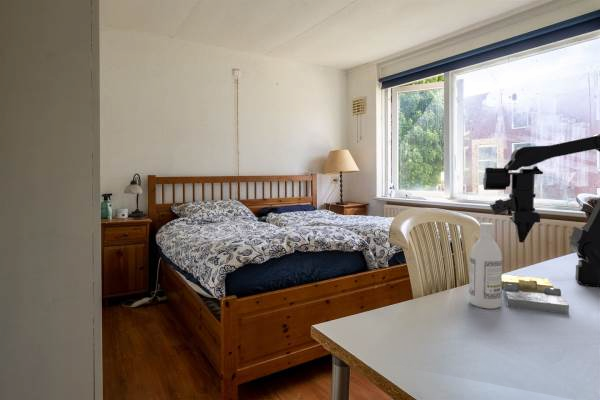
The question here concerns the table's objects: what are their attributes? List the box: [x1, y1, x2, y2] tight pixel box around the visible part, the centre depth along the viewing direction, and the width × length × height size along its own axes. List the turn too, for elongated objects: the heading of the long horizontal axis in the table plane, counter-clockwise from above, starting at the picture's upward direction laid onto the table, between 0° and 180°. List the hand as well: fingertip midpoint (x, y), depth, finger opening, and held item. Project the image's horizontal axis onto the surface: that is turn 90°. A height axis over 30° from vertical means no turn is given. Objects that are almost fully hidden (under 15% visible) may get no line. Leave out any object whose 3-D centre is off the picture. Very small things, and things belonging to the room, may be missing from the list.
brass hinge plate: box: [502, 274, 554, 293], centre depth 101 cm, size 12×9×3 cm
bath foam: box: [468, 222, 503, 310], centre depth 89 cm, size 7×7×20 cm
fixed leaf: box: [503, 284, 570, 315], centre depth 89 cm, size 12×9×3 cm
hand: (521, 242), depth 109 cm, fingers closed
